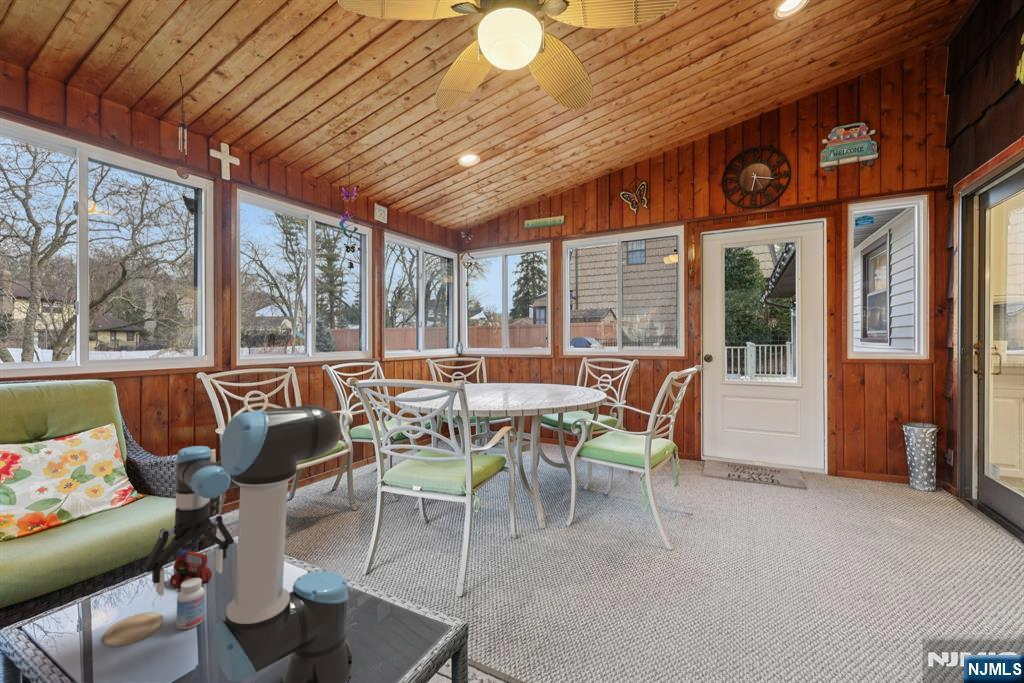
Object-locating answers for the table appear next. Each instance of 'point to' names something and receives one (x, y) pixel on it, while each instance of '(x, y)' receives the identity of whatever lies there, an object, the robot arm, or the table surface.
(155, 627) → the plate
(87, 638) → the table surface
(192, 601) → the pill bottle
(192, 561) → the toy fire truck
